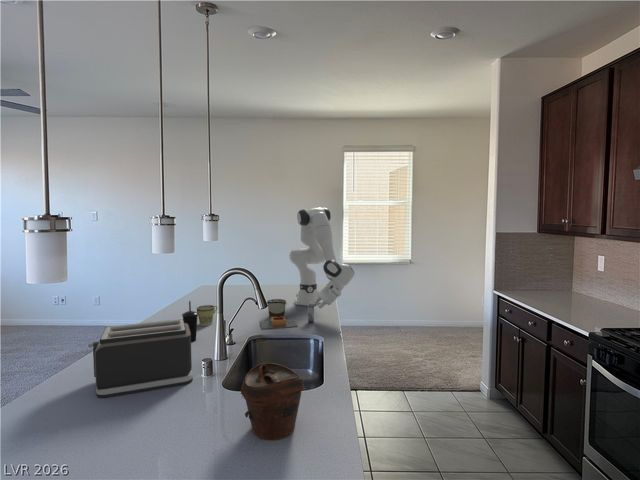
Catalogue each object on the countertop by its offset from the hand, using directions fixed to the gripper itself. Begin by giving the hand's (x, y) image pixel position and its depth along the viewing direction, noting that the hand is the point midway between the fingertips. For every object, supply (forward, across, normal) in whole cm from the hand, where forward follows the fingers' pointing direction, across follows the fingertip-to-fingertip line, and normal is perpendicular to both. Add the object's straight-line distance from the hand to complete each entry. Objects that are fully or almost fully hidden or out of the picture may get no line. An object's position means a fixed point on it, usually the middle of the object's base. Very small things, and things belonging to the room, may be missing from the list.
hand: (317, 306), depth 224 cm
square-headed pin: (+9, 0, +4) cm, 10 cm away
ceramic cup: (+50, -12, -37) cm, 64 cm away
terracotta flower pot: (+34, +105, -20) cm, 112 cm away
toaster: (+65, +62, -51) cm, 103 cm away
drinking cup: (+56, +17, -42) cm, 71 cm away
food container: (+21, -19, -8) cm, 30 cm away
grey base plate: (+23, 0, -9) cm, 25 cm away
